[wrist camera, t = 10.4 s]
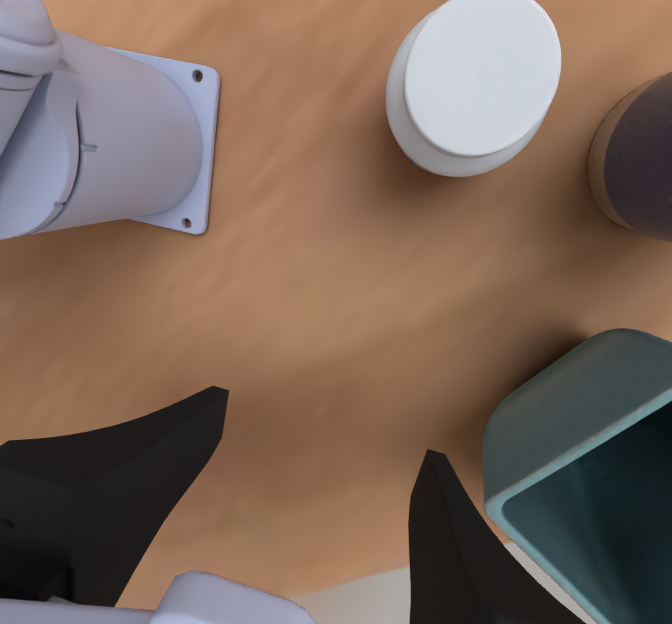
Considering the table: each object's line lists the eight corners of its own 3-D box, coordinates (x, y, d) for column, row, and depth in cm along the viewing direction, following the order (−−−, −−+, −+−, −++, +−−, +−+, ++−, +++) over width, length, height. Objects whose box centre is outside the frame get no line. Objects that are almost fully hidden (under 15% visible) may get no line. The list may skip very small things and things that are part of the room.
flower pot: (454, 389, 24) (477, 510, 15) (597, 281, 21) (723, 358, 12) (559, 494, 24) (636, 663, 16) (710, 405, 22) (901, 556, 13)
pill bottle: (371, 96, 20) (340, 43, 11) (476, 20, 18) (530, -106, 10) (428, 197, 21) (437, 215, 12) (532, 132, 19) (624, 103, 11)
